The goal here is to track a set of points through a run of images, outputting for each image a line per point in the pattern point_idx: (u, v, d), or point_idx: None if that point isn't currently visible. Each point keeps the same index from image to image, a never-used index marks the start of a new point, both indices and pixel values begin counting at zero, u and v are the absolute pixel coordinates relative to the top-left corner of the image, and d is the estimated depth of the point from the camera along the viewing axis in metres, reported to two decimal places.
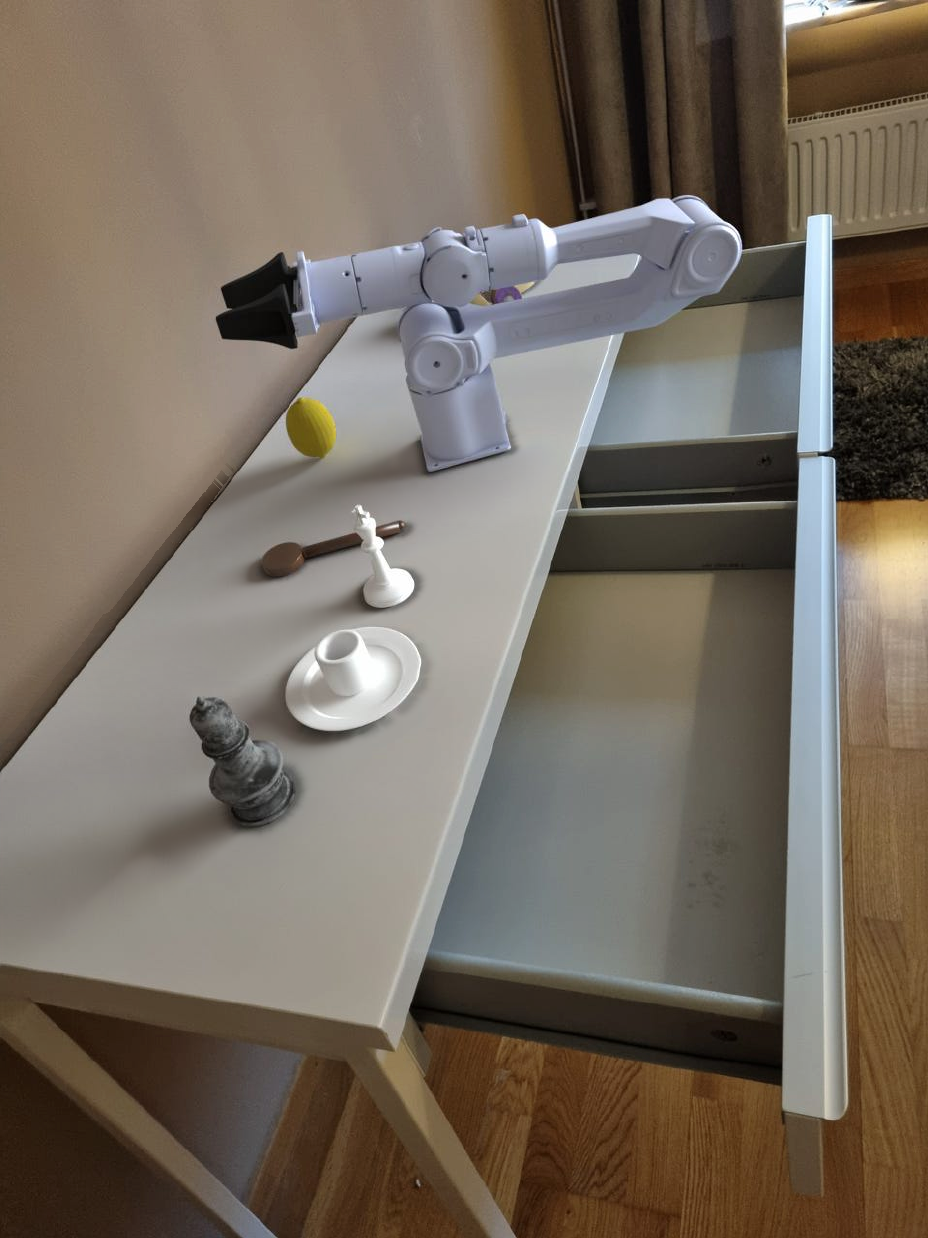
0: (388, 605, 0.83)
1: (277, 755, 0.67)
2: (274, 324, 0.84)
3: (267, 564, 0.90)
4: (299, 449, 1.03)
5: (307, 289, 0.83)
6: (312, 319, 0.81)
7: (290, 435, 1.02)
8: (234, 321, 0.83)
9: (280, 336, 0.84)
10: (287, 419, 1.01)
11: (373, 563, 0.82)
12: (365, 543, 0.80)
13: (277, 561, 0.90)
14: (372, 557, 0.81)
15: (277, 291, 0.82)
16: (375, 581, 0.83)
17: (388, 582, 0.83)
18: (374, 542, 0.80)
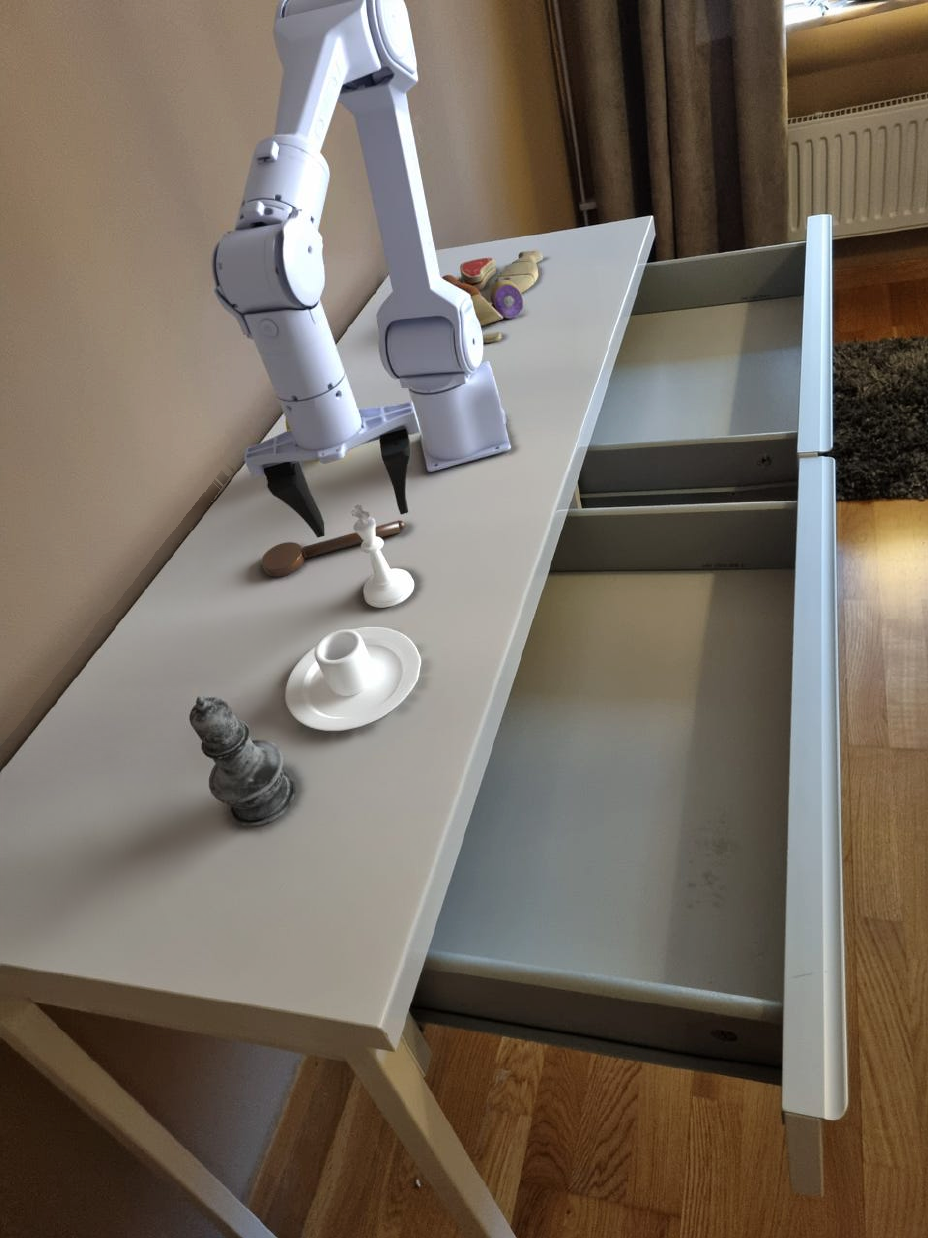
0: (388, 605, 0.83)
1: (277, 755, 0.67)
2: None
3: (267, 564, 0.90)
4: None
5: (374, 430, 0.71)
6: (413, 409, 0.72)
7: None
8: None
9: None
10: None
11: (373, 563, 0.82)
12: (365, 543, 0.80)
13: (277, 561, 0.90)
14: (372, 557, 0.81)
15: (397, 458, 0.72)
16: (375, 581, 0.83)
17: (388, 582, 0.83)
18: (374, 542, 0.80)
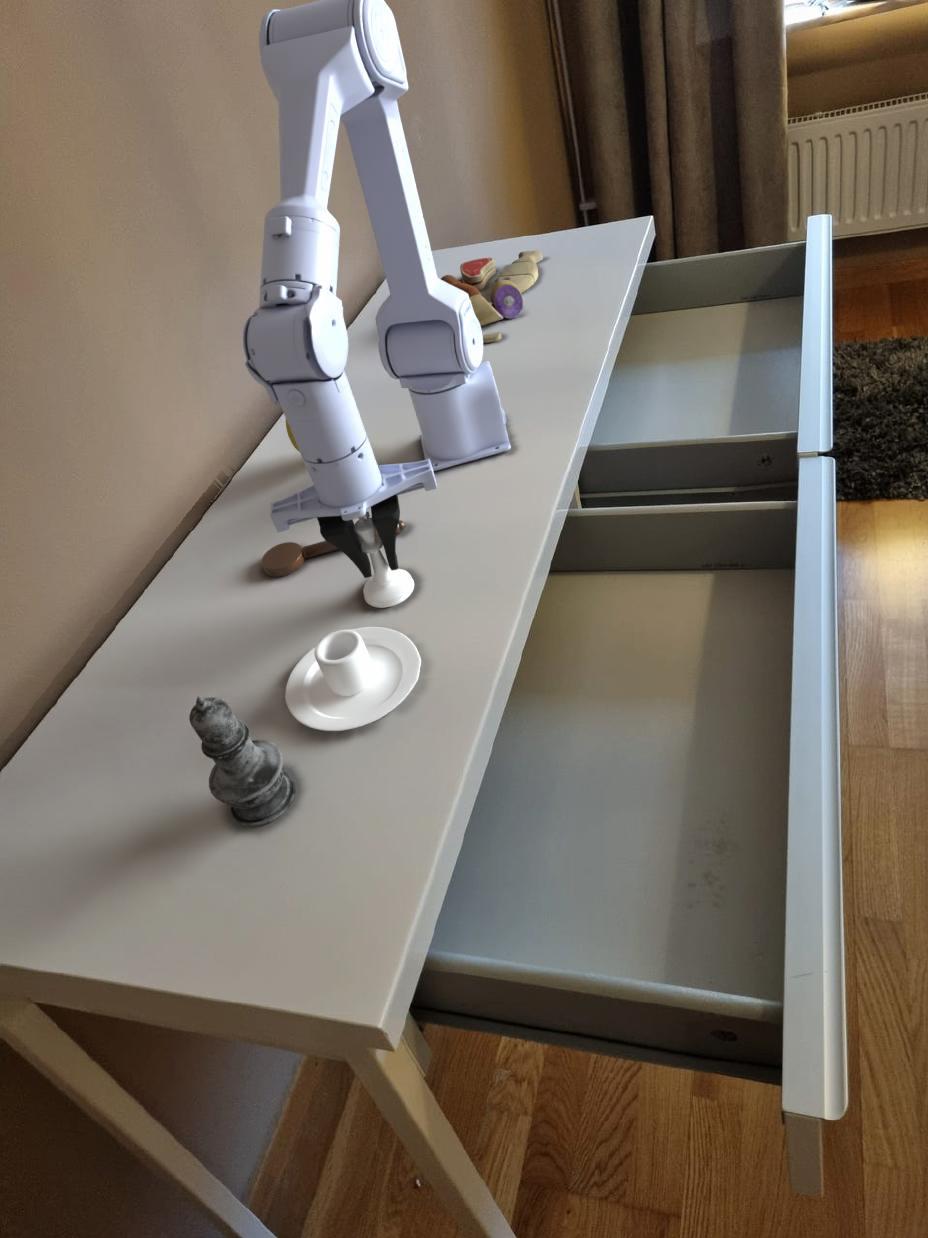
0: (388, 605, 0.83)
1: (277, 755, 0.67)
2: None
3: (267, 564, 0.90)
4: None
5: (393, 488, 0.75)
6: (431, 467, 0.76)
7: (290, 435, 1.02)
8: None
9: None
10: None
11: (373, 563, 0.82)
12: (365, 543, 0.80)
13: (277, 561, 0.90)
14: (372, 557, 0.81)
15: (387, 522, 0.76)
16: (375, 581, 0.83)
17: (388, 582, 0.83)
18: (374, 542, 0.80)
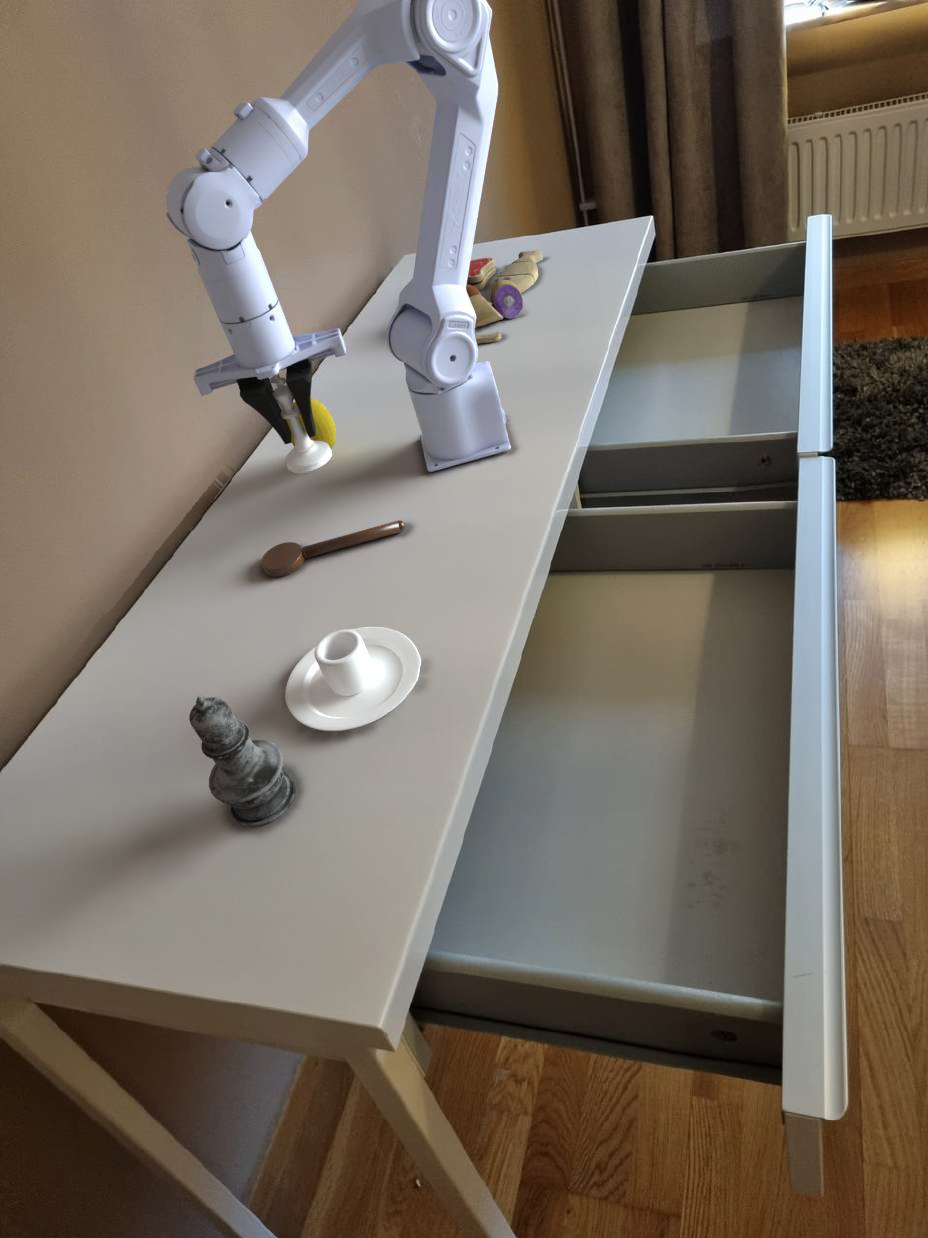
0: (307, 470, 0.90)
1: (277, 755, 0.67)
2: None
3: (267, 564, 0.90)
4: None
5: (304, 351, 0.83)
6: (339, 334, 0.84)
7: None
8: None
9: None
10: (287, 419, 1.01)
11: (292, 430, 0.89)
12: (284, 410, 0.88)
13: (277, 561, 0.90)
14: (291, 424, 0.89)
15: (299, 384, 0.84)
16: (295, 449, 0.91)
17: (307, 449, 0.90)
18: (292, 409, 0.88)
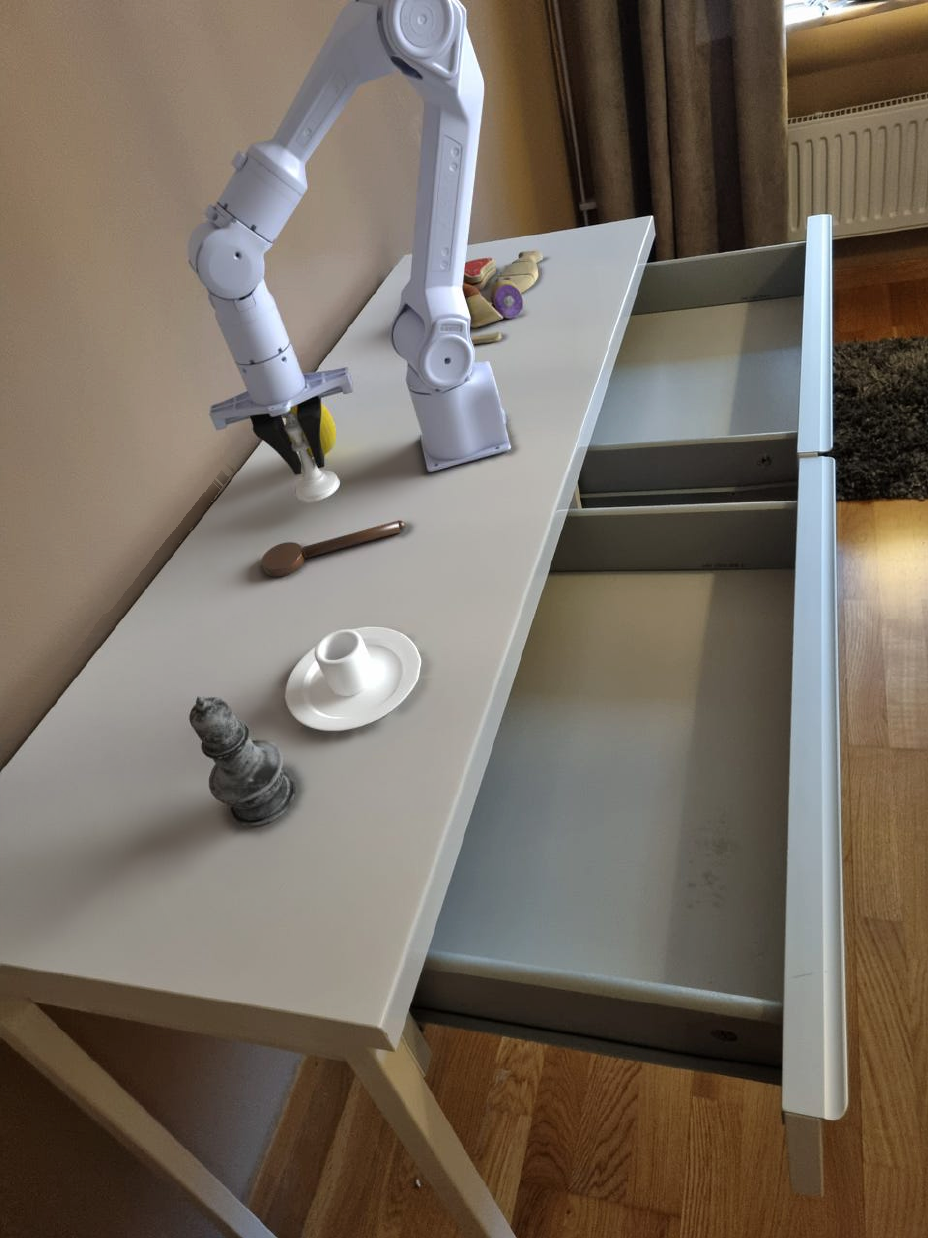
0: (316, 499, 0.95)
1: (277, 755, 0.67)
2: None
3: (267, 564, 0.90)
4: None
5: (314, 389, 0.87)
6: (347, 373, 0.88)
7: None
8: (320, 450, 0.93)
9: None
10: None
11: (302, 462, 0.94)
12: (294, 443, 0.93)
13: (277, 561, 0.90)
14: (301, 456, 0.94)
15: (310, 420, 0.89)
16: (305, 479, 0.95)
17: (316, 479, 0.95)
18: (302, 442, 0.93)
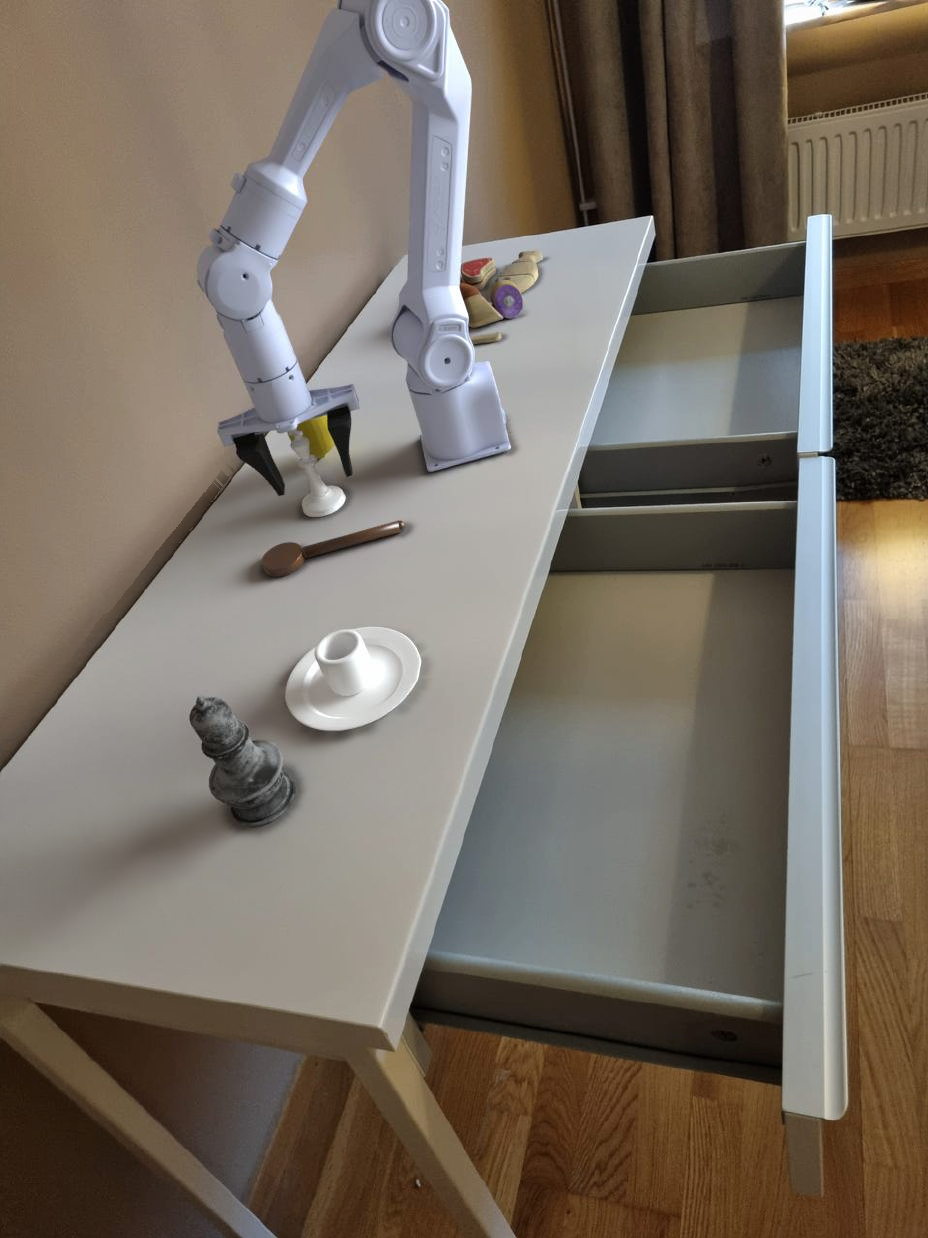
0: (322, 514, 0.96)
1: (277, 755, 0.67)
2: None
3: (267, 564, 0.90)
4: None
5: (321, 407, 0.89)
6: (353, 390, 0.90)
7: (290, 435, 1.02)
8: None
9: None
10: None
11: (308, 478, 0.95)
12: (301, 459, 0.94)
13: (277, 561, 0.90)
14: (307, 472, 0.95)
15: (340, 430, 0.90)
16: (311, 494, 0.97)
17: (322, 495, 0.96)
18: (308, 458, 0.94)
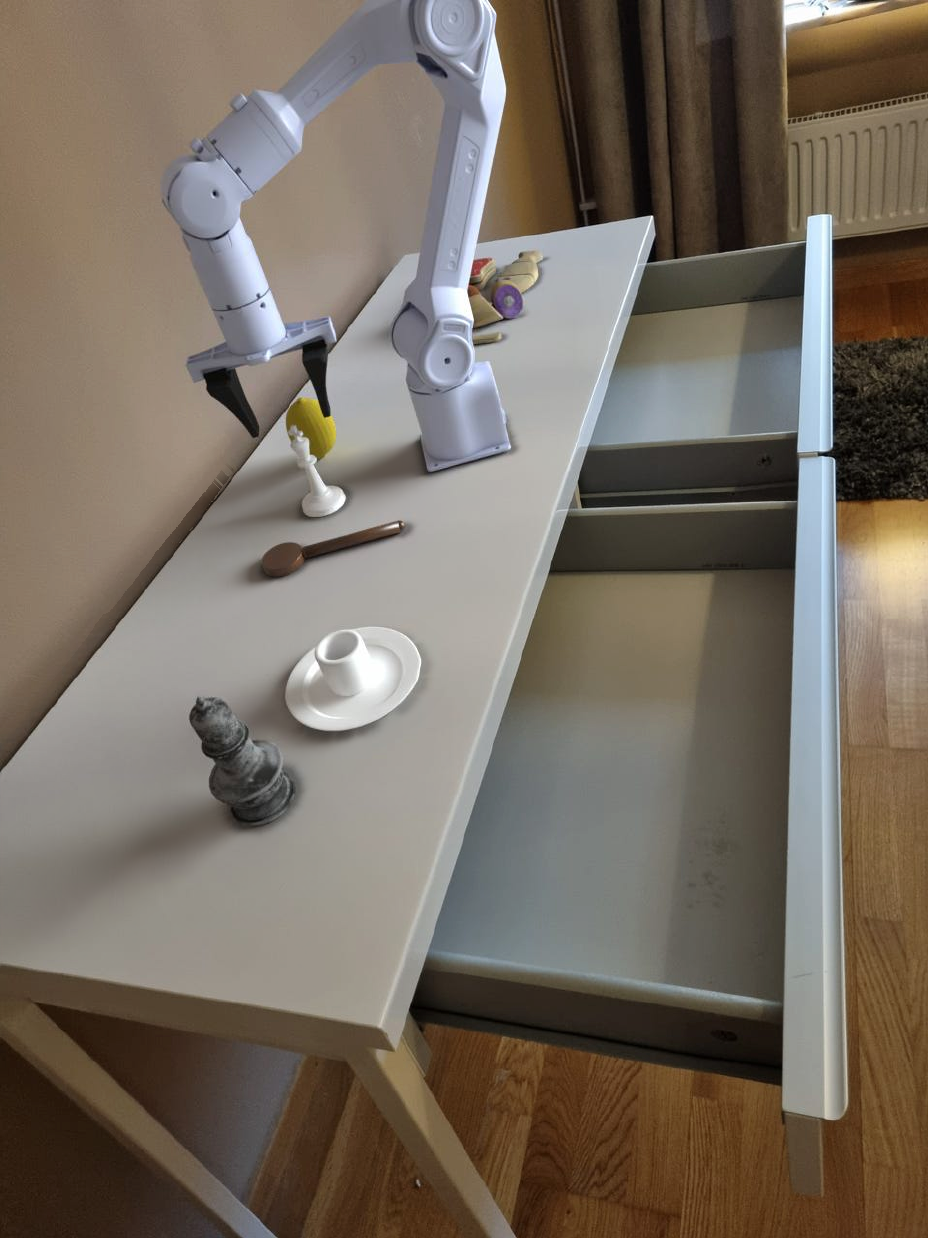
0: (322, 514, 0.96)
1: (277, 755, 0.67)
2: None
3: (267, 564, 0.90)
4: None
5: (295, 338, 0.84)
6: (330, 321, 0.85)
7: (290, 435, 1.02)
8: None
9: None
10: (287, 419, 1.01)
11: (308, 478, 0.95)
12: (301, 459, 0.94)
13: (277, 561, 0.90)
14: (307, 472, 0.95)
15: (315, 364, 0.85)
16: (311, 494, 0.97)
17: (322, 495, 0.96)
18: (308, 458, 0.94)
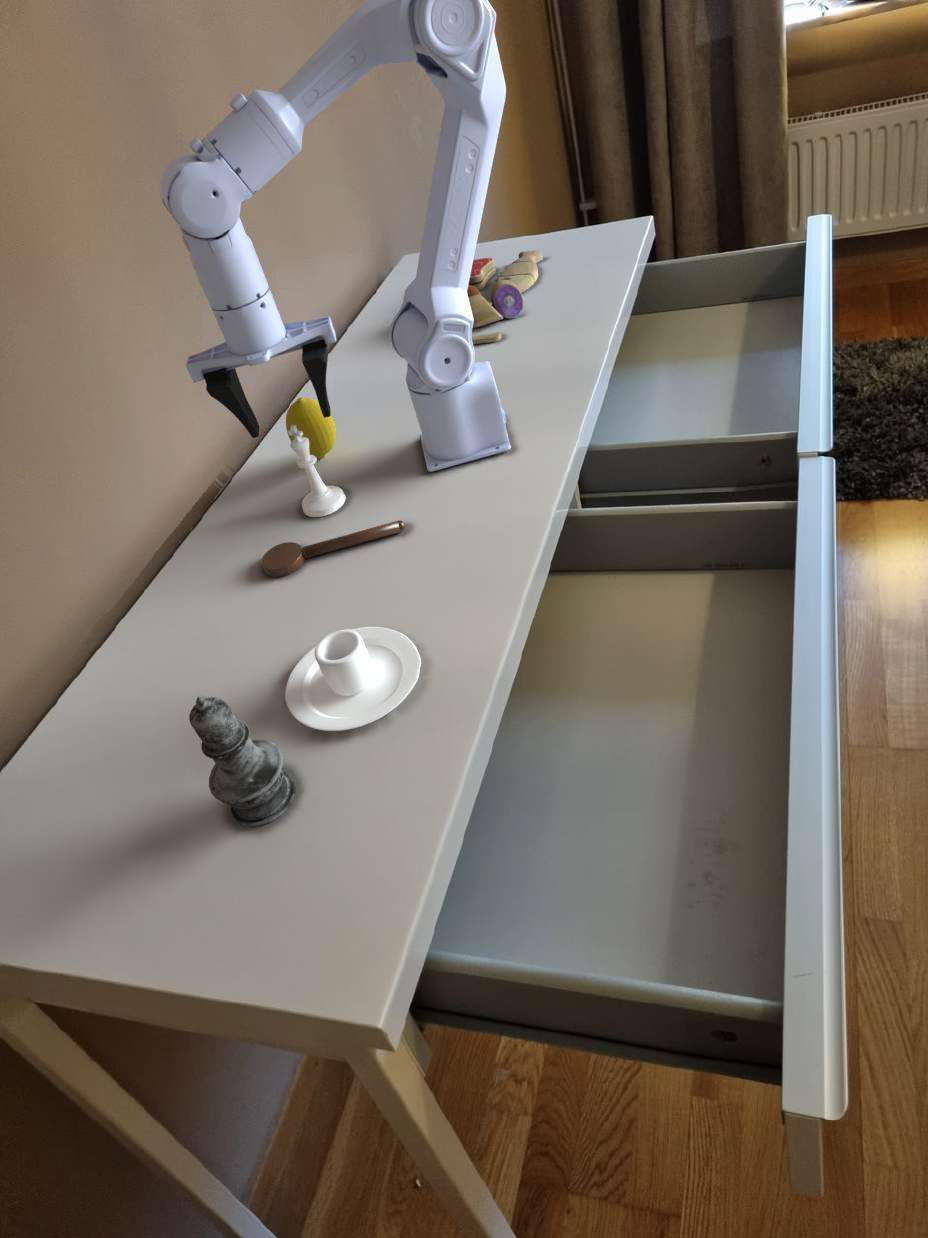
0: (322, 514, 0.96)
1: (277, 755, 0.67)
2: None
3: (267, 564, 0.90)
4: None
5: (295, 338, 0.84)
6: (330, 321, 0.85)
7: (290, 435, 1.02)
8: None
9: None
10: (287, 419, 1.01)
11: (308, 478, 0.95)
12: (301, 459, 0.94)
13: (277, 561, 0.90)
14: (307, 472, 0.95)
15: (315, 364, 0.85)
16: (311, 494, 0.97)
17: (322, 495, 0.96)
18: (308, 458, 0.94)
